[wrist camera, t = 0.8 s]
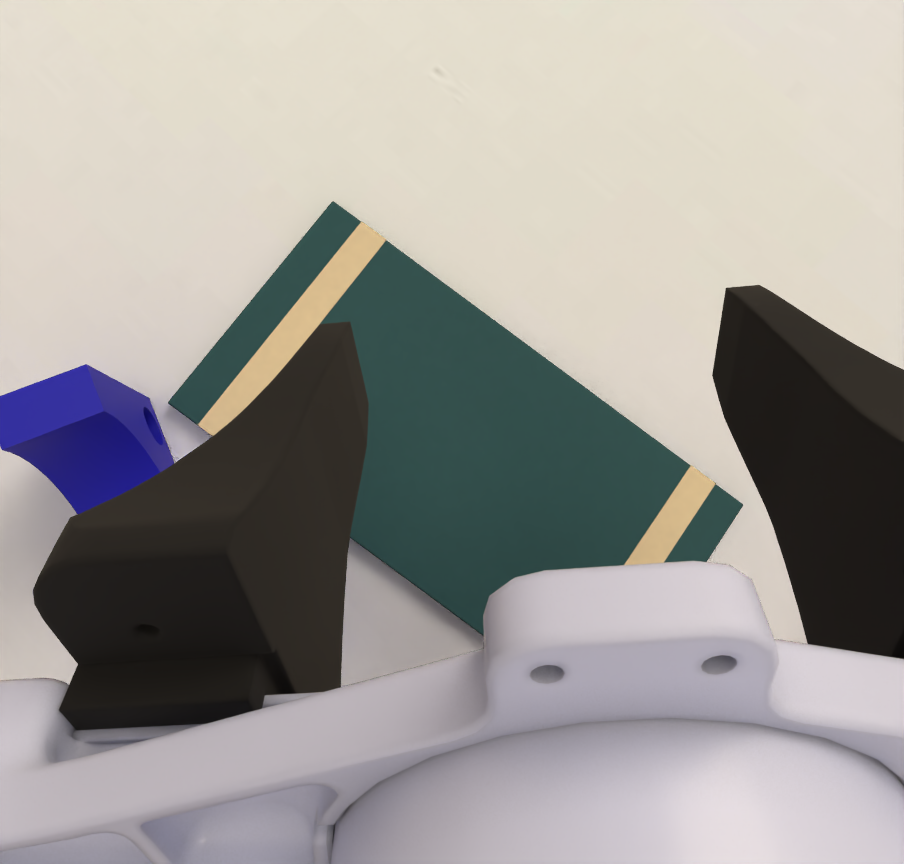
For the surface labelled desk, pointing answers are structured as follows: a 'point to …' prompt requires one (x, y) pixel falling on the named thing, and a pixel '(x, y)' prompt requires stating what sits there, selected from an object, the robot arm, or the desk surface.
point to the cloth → (461, 430)
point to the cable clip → (85, 435)
